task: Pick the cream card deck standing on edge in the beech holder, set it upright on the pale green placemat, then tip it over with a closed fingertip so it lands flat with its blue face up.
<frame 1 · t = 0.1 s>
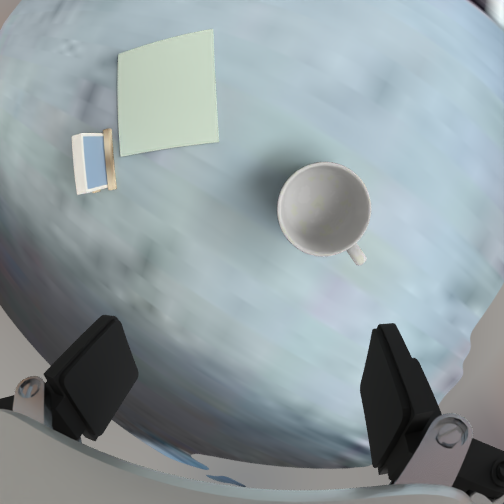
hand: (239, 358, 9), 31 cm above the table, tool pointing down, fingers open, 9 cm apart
mat: (163, 91, 35), on the table
teacup: (324, 209, 38), on the table
holder: (102, 160, 40), on the table
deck: (103, 160, 40), on the table
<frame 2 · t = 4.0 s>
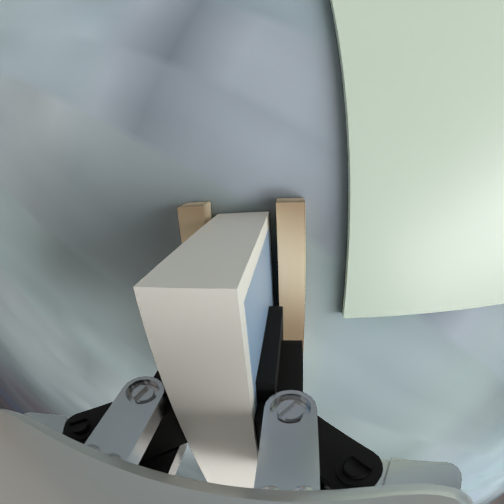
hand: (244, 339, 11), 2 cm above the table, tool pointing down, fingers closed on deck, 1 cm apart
mat: (501, 121, 8), on the table
holder: (251, 313, 12), on the table
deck: (251, 314, 12), on the table, touching gripper
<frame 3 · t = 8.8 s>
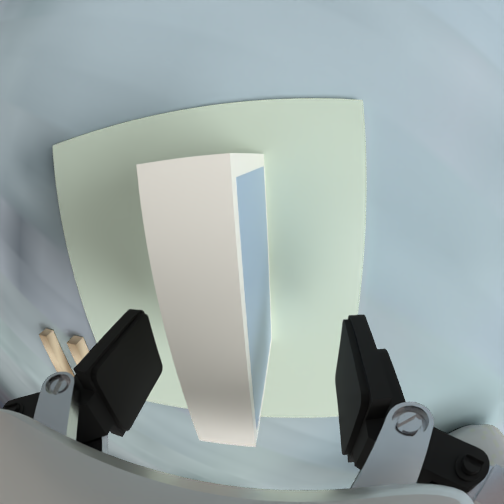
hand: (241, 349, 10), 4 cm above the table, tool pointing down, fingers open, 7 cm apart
mat: (197, 295, 14), on the table
teacup: (451, 447, 17), on the table
holder: (85, 380, 19), on the table
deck: (246, 257, 13), resting on mat
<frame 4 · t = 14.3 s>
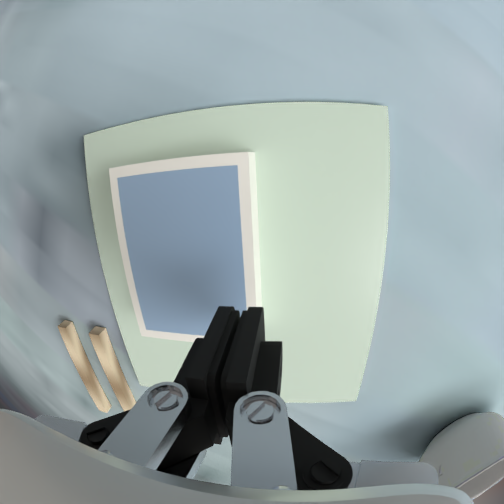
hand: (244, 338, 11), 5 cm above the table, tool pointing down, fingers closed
mat: (230, 283, 15), on the table
teacup: (456, 436, 18), on the table
holder: (103, 372, 20), on the table
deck: (256, 253, 13), point 1 cm above the table, tilted 90°, touching mat
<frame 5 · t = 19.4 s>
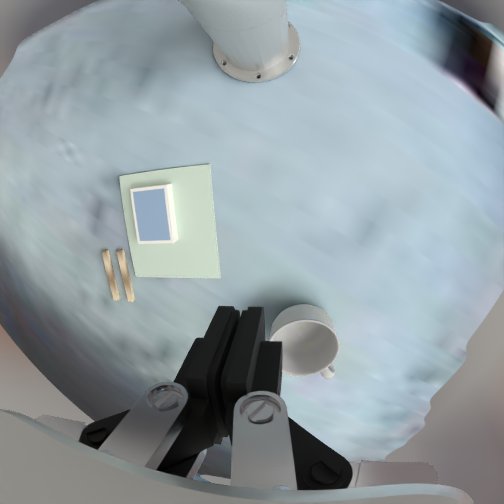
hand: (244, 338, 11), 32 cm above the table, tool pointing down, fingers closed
mat: (168, 225, 44), on the table
teacup: (306, 328, 47), on the table
holder: (119, 275, 49), on the table
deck: (172, 213, 42), point 1 cm above the table, tilted 90°, touching mat
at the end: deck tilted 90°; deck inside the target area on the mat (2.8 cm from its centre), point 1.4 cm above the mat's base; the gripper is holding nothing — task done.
